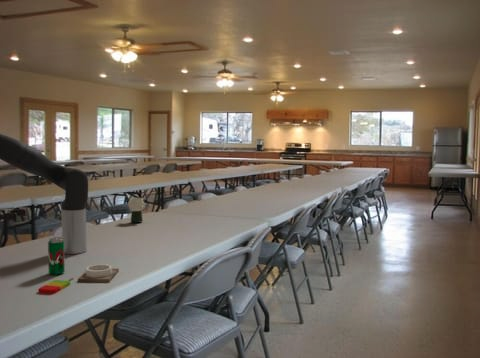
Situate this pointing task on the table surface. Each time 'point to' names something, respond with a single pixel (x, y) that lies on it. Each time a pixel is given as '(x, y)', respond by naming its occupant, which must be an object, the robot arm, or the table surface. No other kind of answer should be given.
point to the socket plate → (98, 273)
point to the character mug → (136, 209)
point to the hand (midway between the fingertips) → (21, 214)
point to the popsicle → (54, 286)
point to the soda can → (56, 256)
